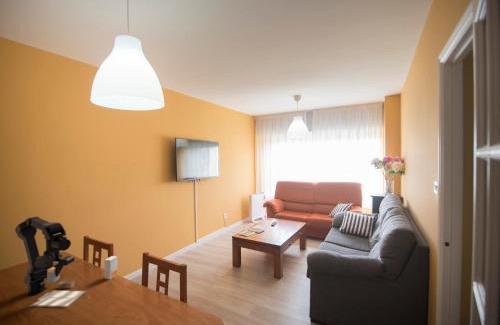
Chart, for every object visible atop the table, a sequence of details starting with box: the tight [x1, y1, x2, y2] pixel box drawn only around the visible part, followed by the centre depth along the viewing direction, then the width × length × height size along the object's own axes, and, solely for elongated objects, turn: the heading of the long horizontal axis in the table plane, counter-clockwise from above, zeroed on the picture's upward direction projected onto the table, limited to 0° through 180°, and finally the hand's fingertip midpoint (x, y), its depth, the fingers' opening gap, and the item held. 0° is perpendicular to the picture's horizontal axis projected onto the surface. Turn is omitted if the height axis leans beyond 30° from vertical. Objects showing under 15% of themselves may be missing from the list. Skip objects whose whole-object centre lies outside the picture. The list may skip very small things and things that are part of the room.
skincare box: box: [104, 255, 118, 280], centre depth 145 cm, size 6×4×12 cm
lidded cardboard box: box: [46, 267, 61, 283], centre depth 123 cm, size 4×4×6 cm
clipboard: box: [28, 289, 89, 309], centre depth 123 cm, size 20×14×1 cm
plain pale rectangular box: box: [57, 280, 76, 290], centre depth 134 cm, size 7×3×3 cm, turn 98°
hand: (53, 276), depth 123 cm, fingers closed on lidded cardboard box, 4 cm apart
